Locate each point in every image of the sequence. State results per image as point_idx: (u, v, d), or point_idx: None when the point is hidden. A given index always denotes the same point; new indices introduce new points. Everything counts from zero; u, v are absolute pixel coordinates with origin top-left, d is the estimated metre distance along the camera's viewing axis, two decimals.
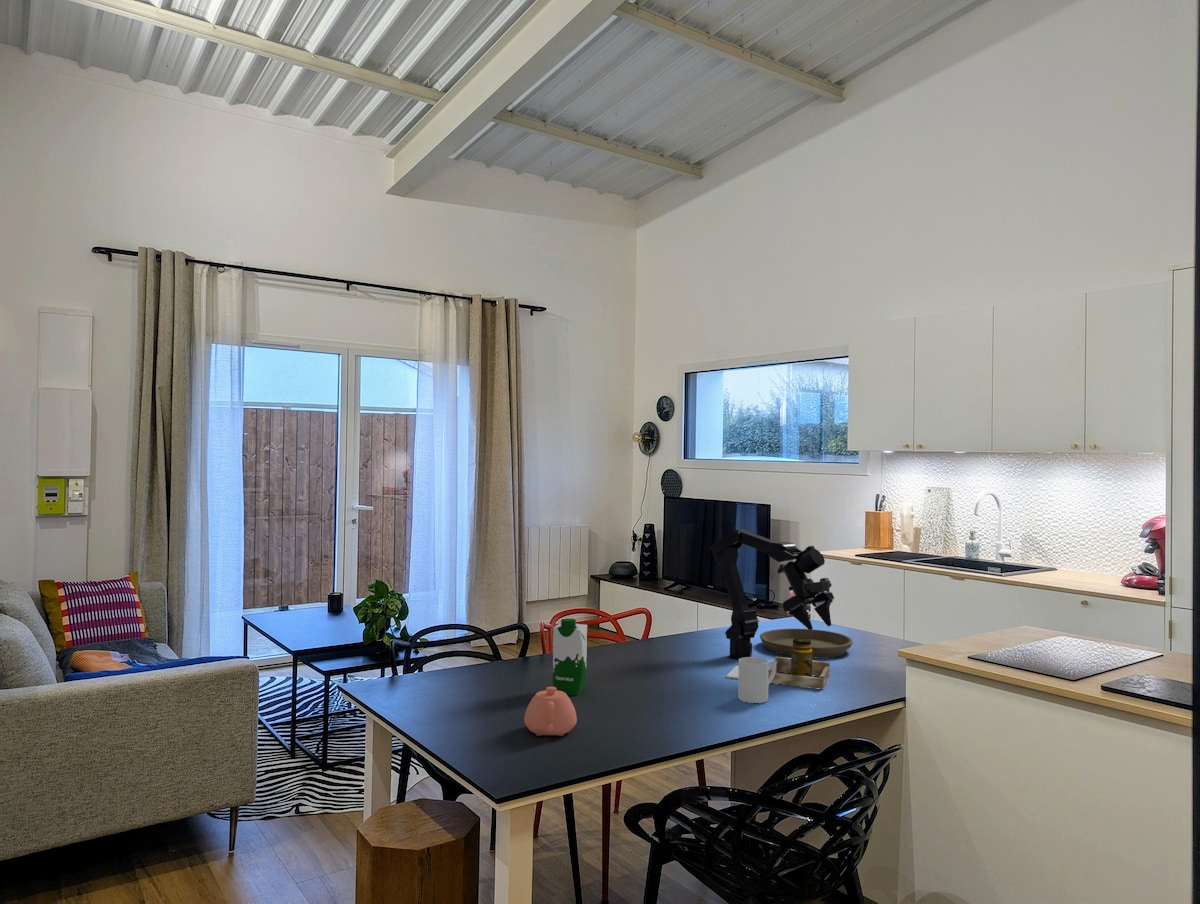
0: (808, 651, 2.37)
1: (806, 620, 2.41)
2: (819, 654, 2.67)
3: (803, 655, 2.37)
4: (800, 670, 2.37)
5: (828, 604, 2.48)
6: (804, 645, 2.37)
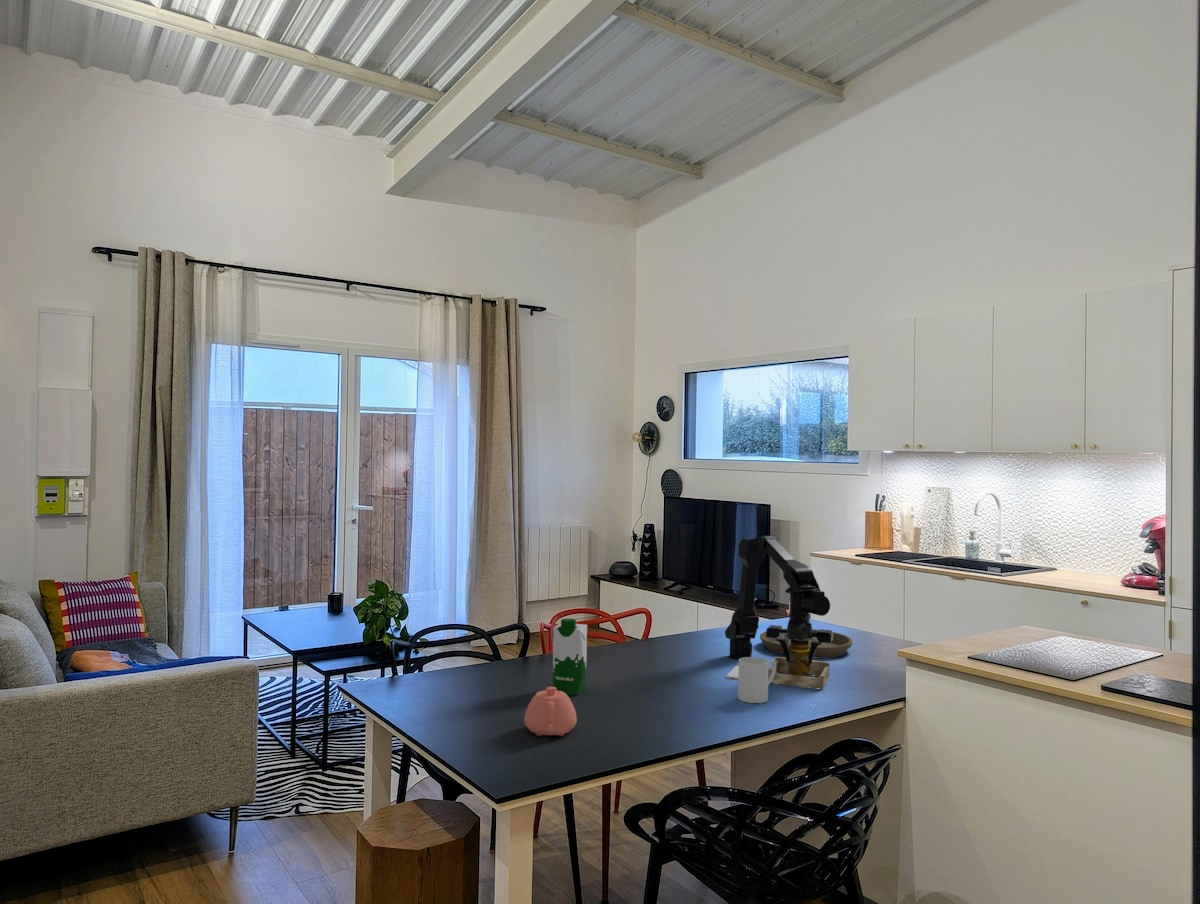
0: (805, 651, 2.38)
1: None
2: (819, 654, 2.67)
3: (801, 655, 2.37)
4: (797, 670, 2.37)
5: (813, 645, 2.36)
6: (801, 645, 2.38)
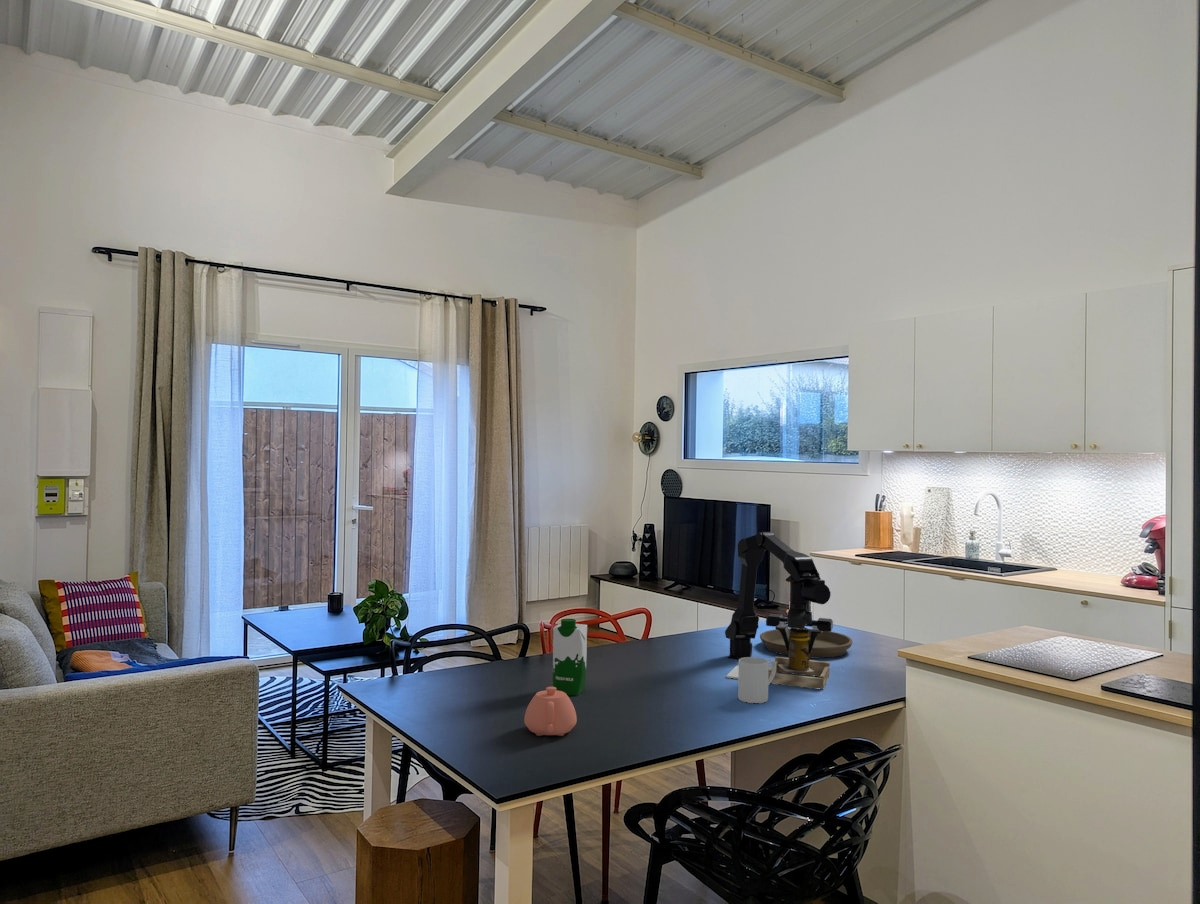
0: (805, 639, 2.38)
1: None
2: (819, 654, 2.67)
3: (801, 644, 2.37)
4: (797, 658, 2.37)
5: (813, 634, 2.36)
6: (801, 633, 2.38)
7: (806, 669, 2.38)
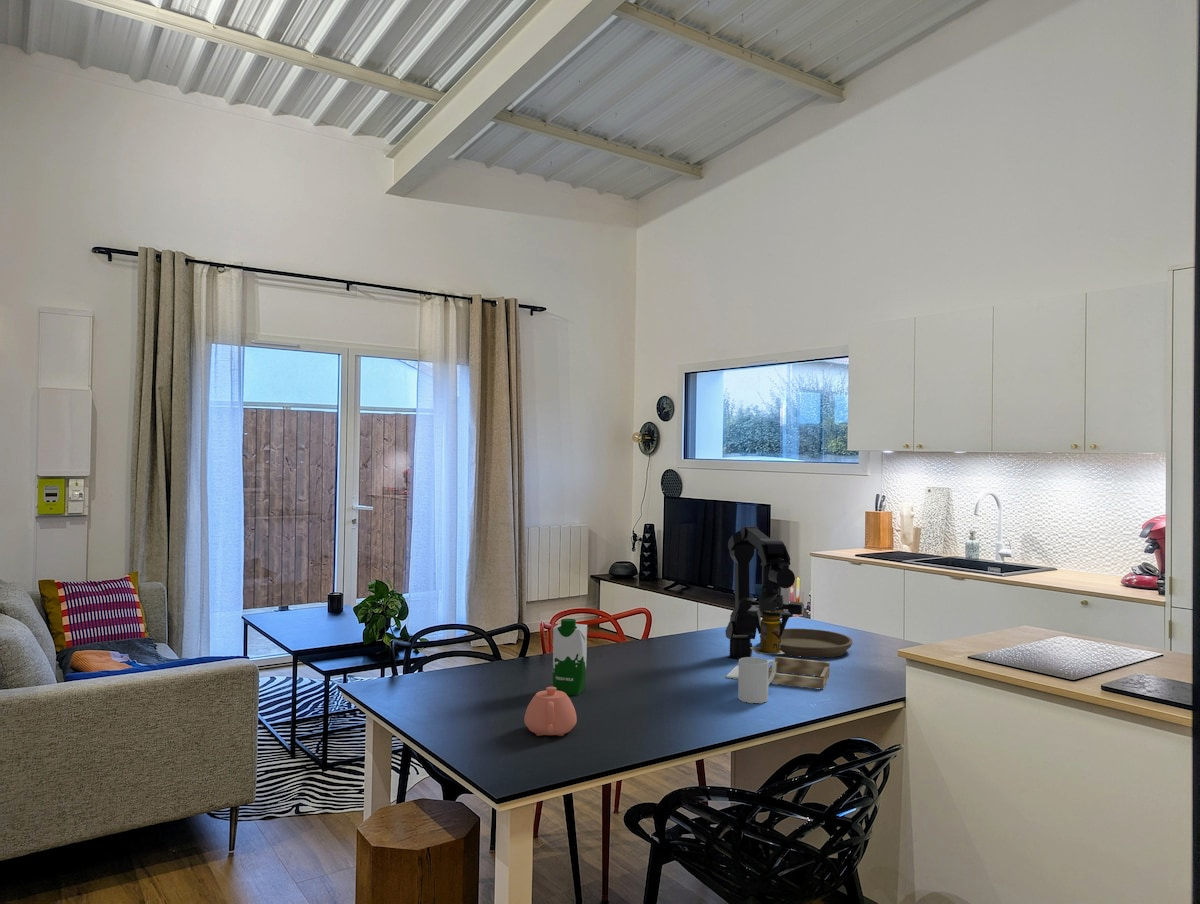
0: (776, 623, 2.41)
1: None
2: (819, 654, 2.67)
3: (772, 627, 2.41)
4: (769, 641, 2.41)
5: (784, 617, 2.40)
6: (773, 616, 2.41)
7: (777, 652, 2.42)
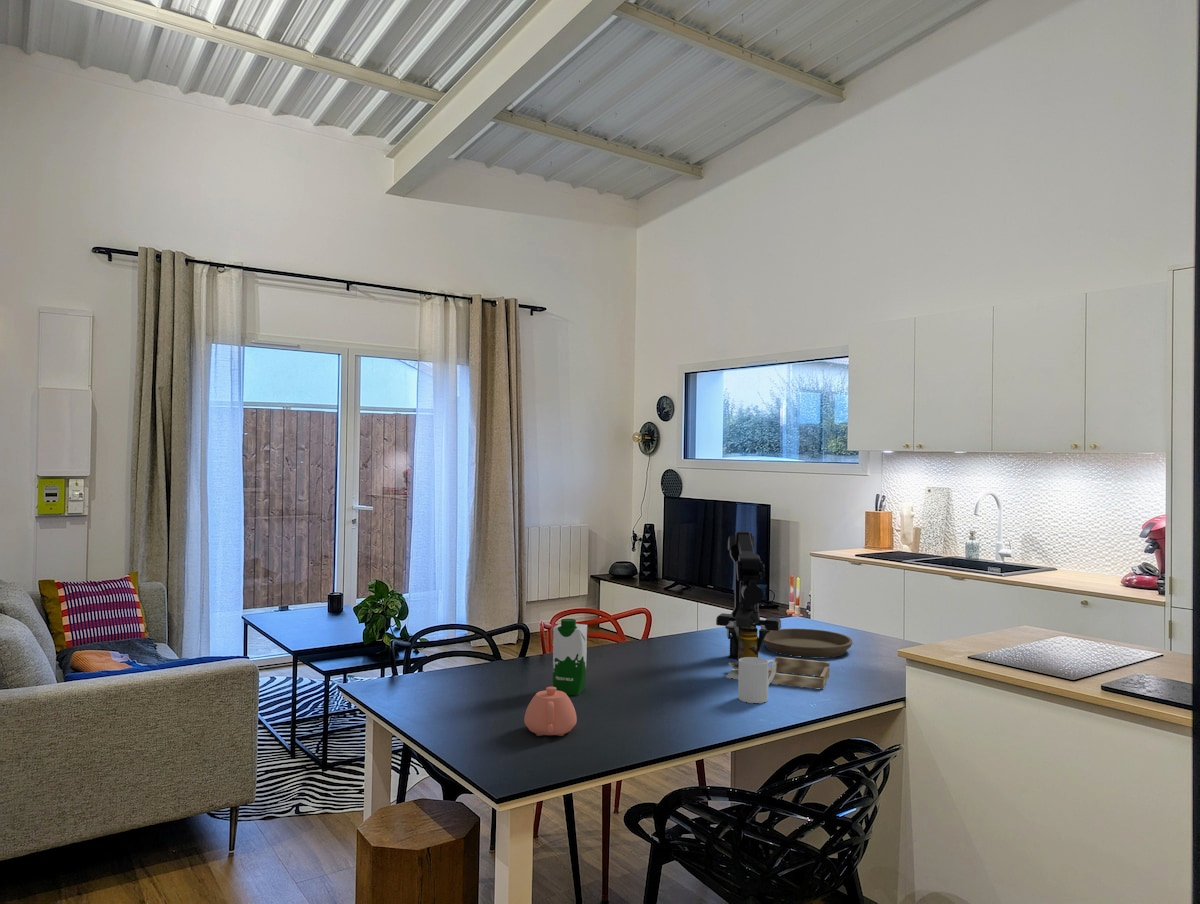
0: (753, 638, 2.43)
1: None
2: (819, 654, 2.67)
3: (749, 642, 2.43)
4: None
5: (761, 633, 2.42)
6: (750, 632, 2.43)
7: None
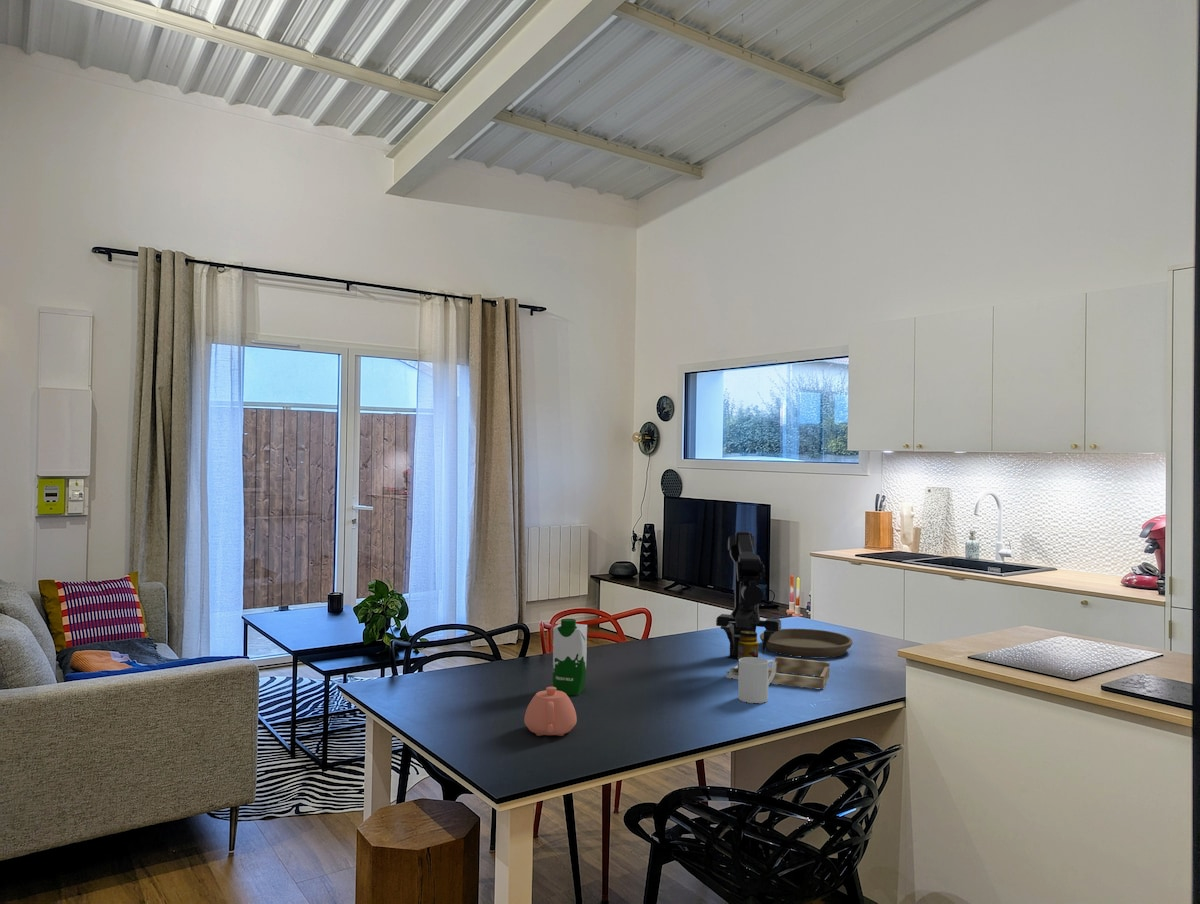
0: (753, 643, 2.44)
1: None
2: (819, 654, 2.67)
3: (749, 647, 2.43)
4: None
5: (766, 634, 2.42)
6: (749, 637, 2.44)
7: None
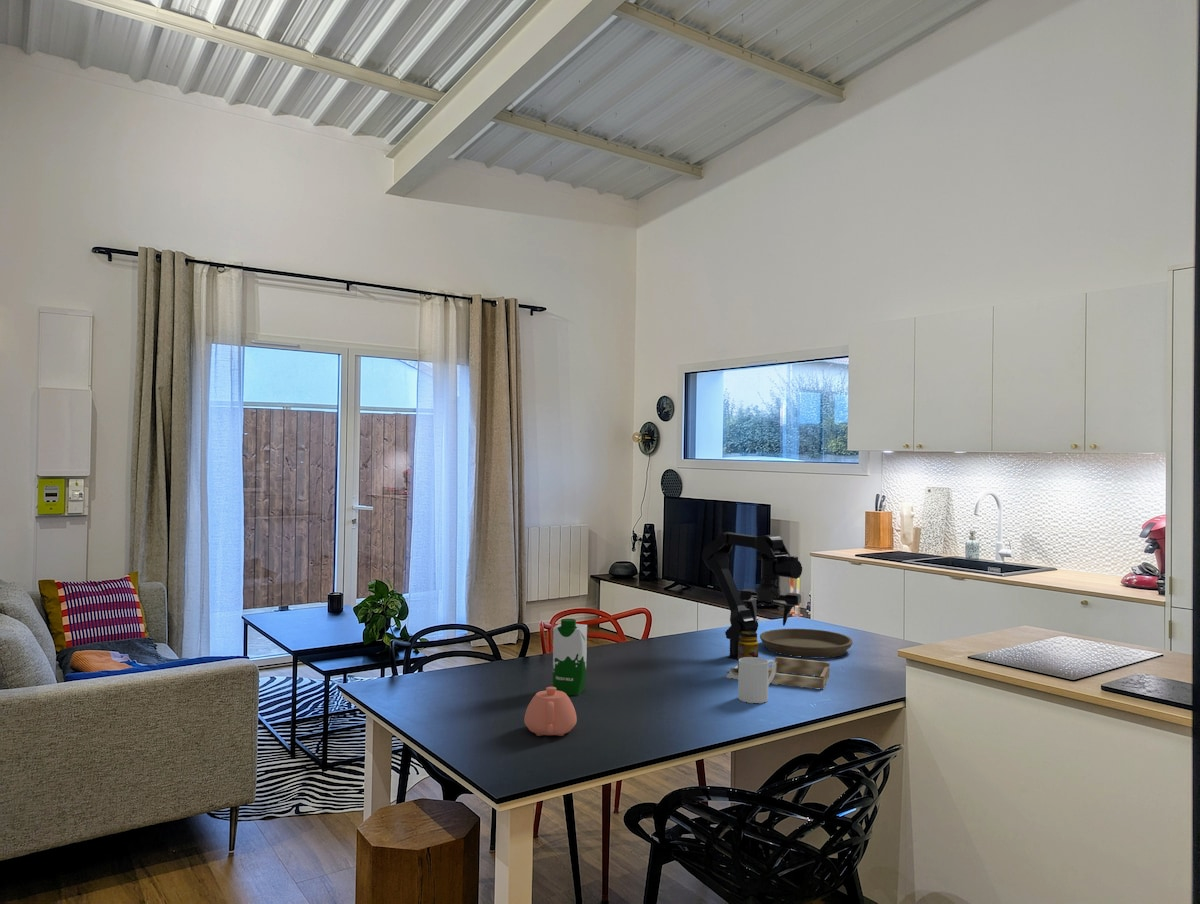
0: (753, 643, 2.43)
1: None
2: (819, 654, 2.67)
3: (749, 648, 2.43)
4: None
5: (786, 608, 2.54)
6: (749, 637, 2.44)
7: None
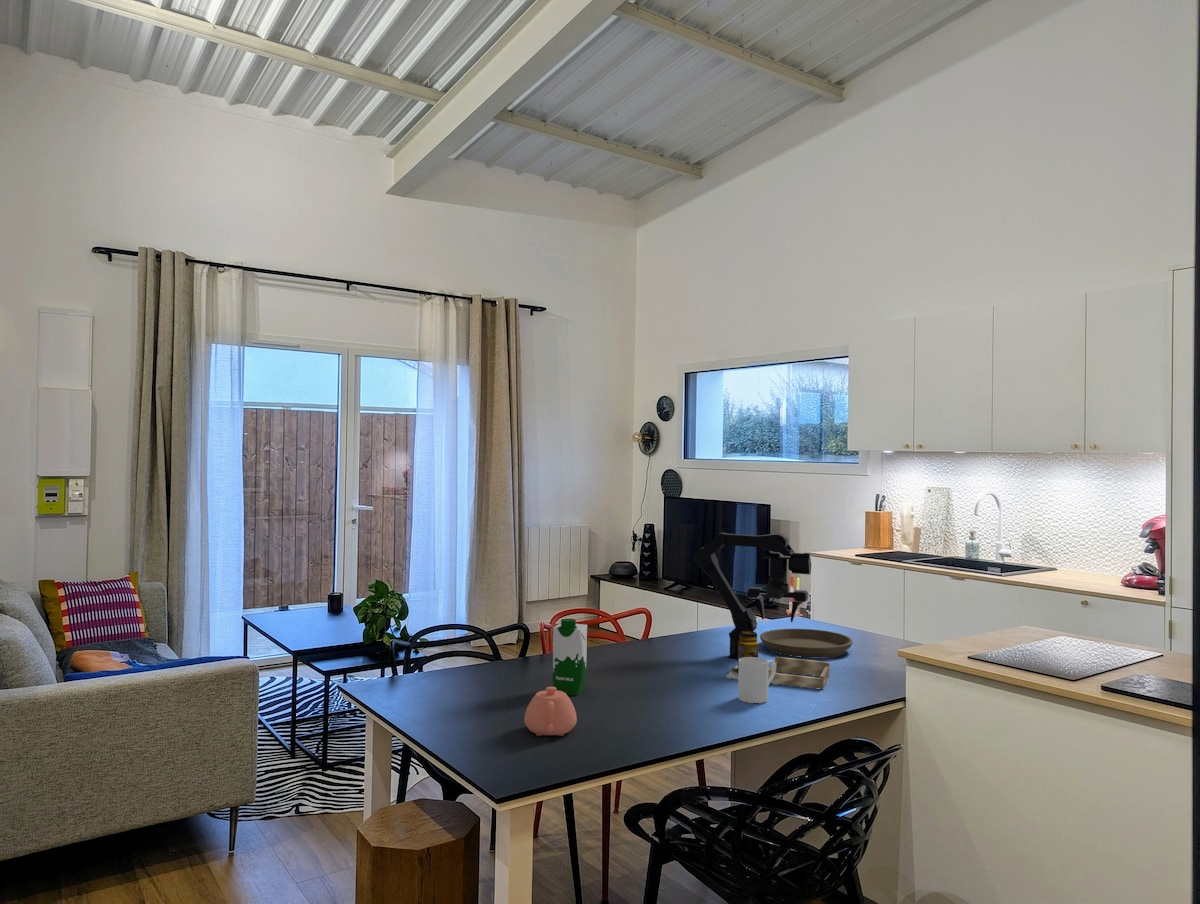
0: (753, 643, 2.43)
1: None
2: (819, 654, 2.67)
3: (749, 648, 2.43)
4: None
5: (794, 604, 2.59)
6: (749, 637, 2.44)
7: None
